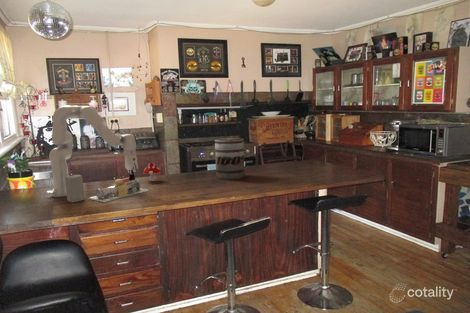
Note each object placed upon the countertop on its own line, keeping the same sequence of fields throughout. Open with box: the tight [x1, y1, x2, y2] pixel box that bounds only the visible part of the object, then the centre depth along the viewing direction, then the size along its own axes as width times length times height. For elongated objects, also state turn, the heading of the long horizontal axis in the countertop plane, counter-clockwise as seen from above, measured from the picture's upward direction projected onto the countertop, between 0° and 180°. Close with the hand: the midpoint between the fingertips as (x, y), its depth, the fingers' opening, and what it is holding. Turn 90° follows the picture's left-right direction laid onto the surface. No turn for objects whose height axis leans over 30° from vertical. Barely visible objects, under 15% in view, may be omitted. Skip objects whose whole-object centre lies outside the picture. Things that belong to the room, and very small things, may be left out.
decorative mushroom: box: [142, 161, 162, 182], centre depth 274 cm, size 14×14×15 cm
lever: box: [114, 176, 133, 185], centre depth 239 cm, size 17×4×3 cm, turn 155°
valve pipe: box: [88, 179, 149, 203], centre depth 234 cm, size 34×16×7 cm, turn 143°
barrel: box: [214, 137, 246, 181], centre depth 282 cm, size 22×22×30 cm
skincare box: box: [65, 174, 85, 204], centre depth 221 cm, size 8×7×16 cm
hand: (132, 179), depth 241 cm, fingers closed
